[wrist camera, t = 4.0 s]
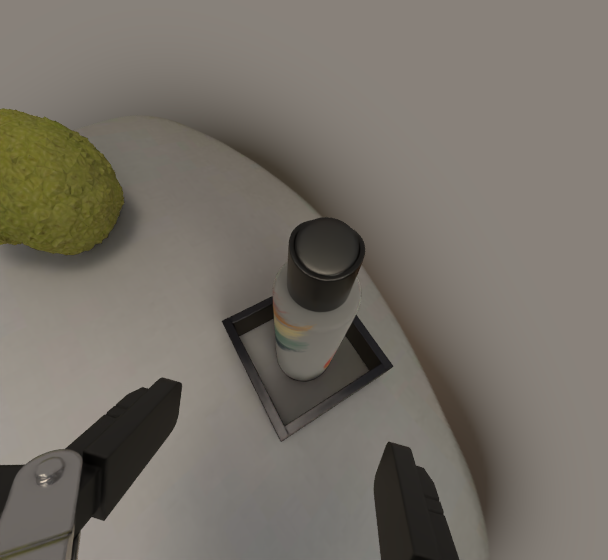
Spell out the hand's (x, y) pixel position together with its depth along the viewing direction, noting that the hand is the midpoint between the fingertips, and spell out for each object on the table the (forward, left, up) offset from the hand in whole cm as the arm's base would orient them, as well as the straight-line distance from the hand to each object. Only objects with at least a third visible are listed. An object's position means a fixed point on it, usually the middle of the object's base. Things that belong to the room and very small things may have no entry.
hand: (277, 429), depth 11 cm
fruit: (+35, +11, -19) cm, 41 cm away
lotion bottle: (+6, -6, -19) cm, 21 cm away
